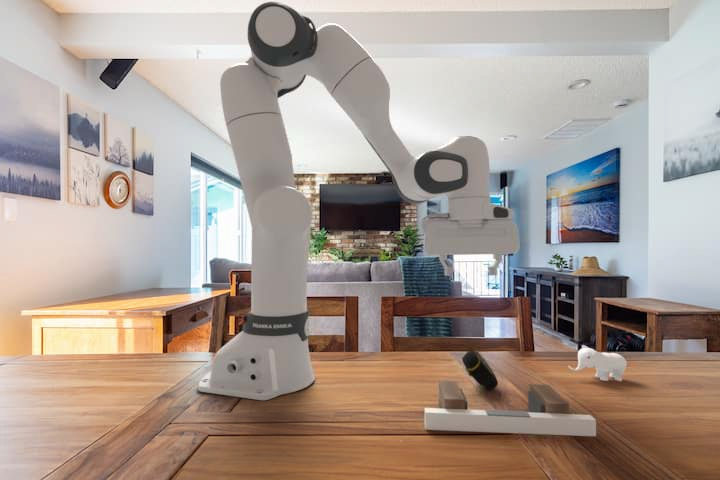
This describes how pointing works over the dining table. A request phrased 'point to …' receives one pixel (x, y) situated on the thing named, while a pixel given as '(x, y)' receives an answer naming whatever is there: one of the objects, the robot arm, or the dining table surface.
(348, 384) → the dining table surface
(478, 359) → the tape measure
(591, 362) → the elephant figurine
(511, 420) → the rail
